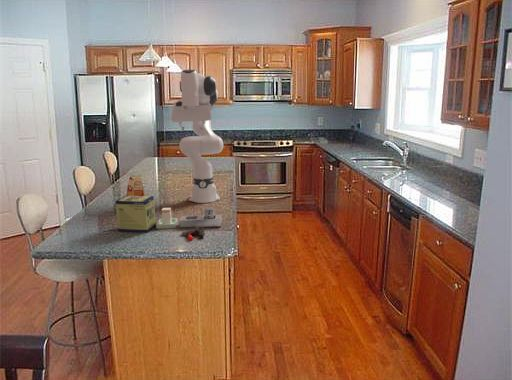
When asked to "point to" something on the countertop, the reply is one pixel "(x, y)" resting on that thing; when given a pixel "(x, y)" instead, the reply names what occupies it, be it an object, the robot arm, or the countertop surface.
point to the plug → (166, 216)
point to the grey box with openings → (201, 220)
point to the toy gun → (193, 234)
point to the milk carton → (135, 186)
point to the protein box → (135, 213)
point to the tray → (173, 225)
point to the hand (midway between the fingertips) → (192, 130)
